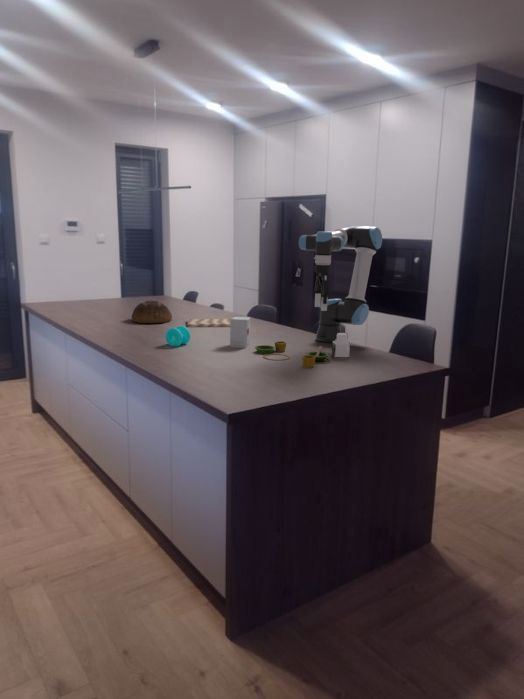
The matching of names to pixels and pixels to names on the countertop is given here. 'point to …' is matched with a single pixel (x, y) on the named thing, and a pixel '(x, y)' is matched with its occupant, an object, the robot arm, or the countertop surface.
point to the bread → (151, 313)
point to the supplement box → (240, 332)
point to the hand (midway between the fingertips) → (320, 308)
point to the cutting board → (208, 322)
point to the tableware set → (280, 347)
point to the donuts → (177, 336)
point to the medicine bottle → (340, 345)
